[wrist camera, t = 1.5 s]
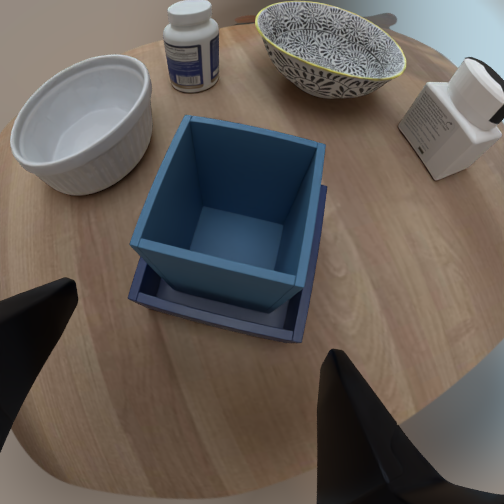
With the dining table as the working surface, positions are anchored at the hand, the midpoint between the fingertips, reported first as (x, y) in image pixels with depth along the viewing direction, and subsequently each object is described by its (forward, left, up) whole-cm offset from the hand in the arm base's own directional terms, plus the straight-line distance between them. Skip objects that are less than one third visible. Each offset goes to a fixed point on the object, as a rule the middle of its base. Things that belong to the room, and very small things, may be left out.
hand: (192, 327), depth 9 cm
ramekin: (+16, +13, -12) cm, 24 cm away
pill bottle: (+26, +5, -12) cm, 29 cm away
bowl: (+28, -9, -12) cm, 32 cm away
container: (+21, -23, -12) cm, 33 cm away
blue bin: (+6, -1, -11) cm, 13 cm away
